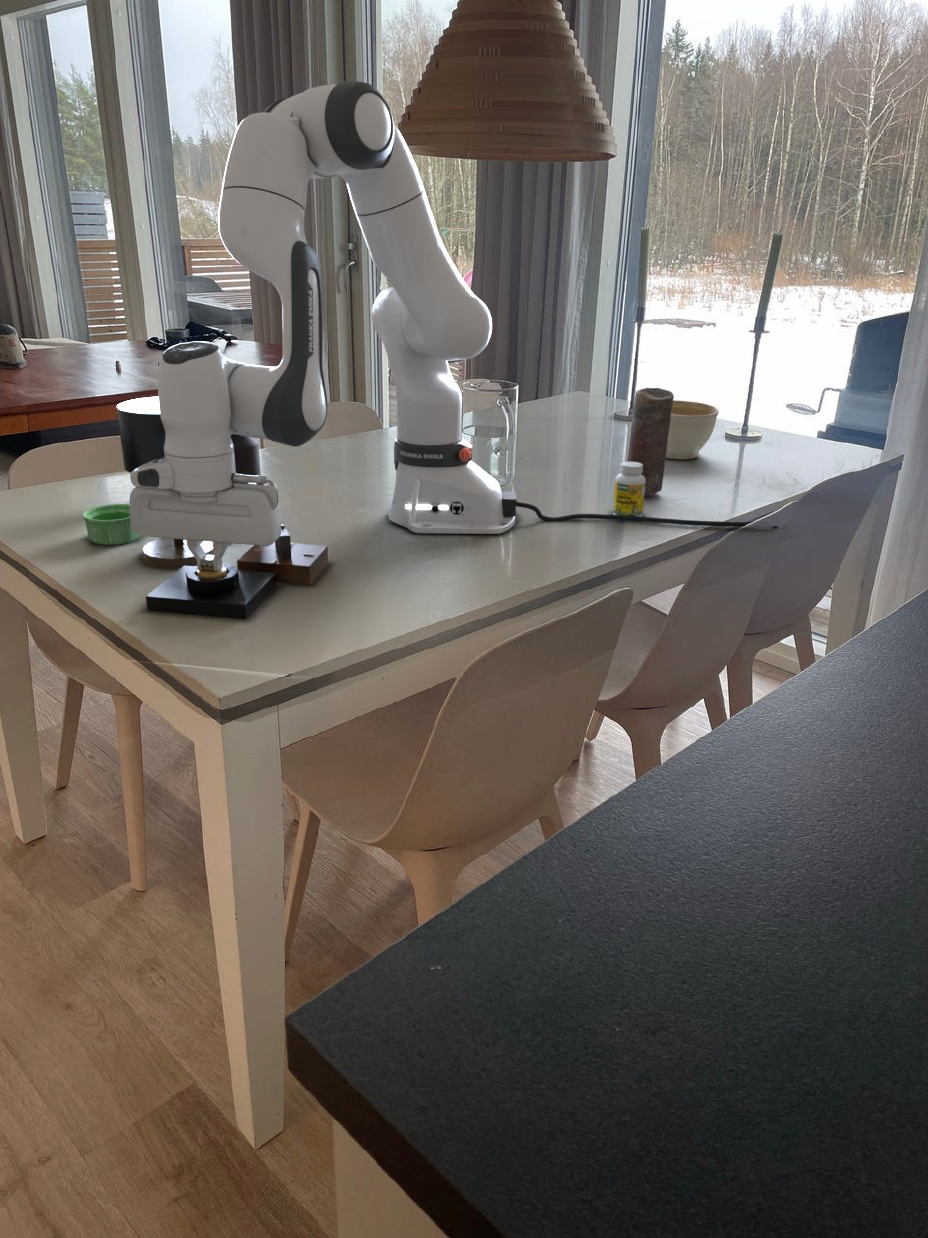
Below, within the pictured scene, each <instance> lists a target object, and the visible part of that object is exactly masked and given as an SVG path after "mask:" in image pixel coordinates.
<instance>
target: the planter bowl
mask: <svg viewBox="0 0 928 1238" xmlns="http://www.w3.org/2000/svg"><path fill="white" fill-rule="evenodd" d="M719 412H720V410H719V408H718V407H716V406H713V405H711V404H707V403H704V402H697V401H689V400H674V399H673V406H672V413H671V421H670V428H669V435H668V444H667V452H666V459H670V460H671V459H672V460H687V461H688V460H692V459H695V458H698V455H699V452H700V450H702V449H703V447H705V446H706V444H707V442H708V441H709V439H710V438H711V437H712V434H713V432H714V429H715V426H716V422H717V419H718V415H719Z"/></svg>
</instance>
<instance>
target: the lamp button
mask: <svg viewBox="0 0 928 1238" xmlns="http://www.w3.org/2000/svg"><path fill="white" fill-rule="evenodd" d="M226 574H227V569H226V567H224V566H223V567H222V569H221V570H220V571H219V572H214V571H203V570H202V571H201V570H197V576H198V577H200V578H217V577H222V576H225V575H226Z"/></svg>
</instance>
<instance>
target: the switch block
mask: <svg viewBox="0 0 928 1238" xmlns="http://www.w3.org/2000/svg"><path fill="white" fill-rule="evenodd" d="M222 565H223V566H224V567H226V569H227V574H226V575H225V576H222V577H217V578H200V577H198V576H197V570H198V567H197V566H183V567H182V568H178V570H177V571H175V572H174V573H173V574H172V575H170V576H169V577H168V578H167V579H166V580H164V581H163V582H162V583H161V584H159V585H158V586H156V588H154V589H153V590H152V591H150V592H149V593H148V594H146V596H145V601H146V609H147V612H153V613H164V614H165V613H166V614H175V615H178V614H179V615H188V616H189V615H190V616H200V617H211V618H224V619H235V620H244V621H246V620H248V618H249V617H250V616H251V615H252V614H254V612H255V611H256V610H257V609H258V608H259V607H260V606H261V605H262V604H263V603H264V601H265V600H266V599H267V598H269V596H270V595H271V594H272V593H273V592H274V591H275V590H276V589H277V588H278V583H277V578H276V573H271V572H259V571H246V570H238V568H237V566H235V565H231V564H230V563H222Z"/></svg>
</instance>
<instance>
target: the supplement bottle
mask: <svg viewBox="0 0 928 1238" xmlns="http://www.w3.org/2000/svg"><path fill="white" fill-rule="evenodd" d="M642 471H643V464H641V463H638V462H627V461H623V462H620V465H619V472H620V473H619V474H617V475H616V476H615V479H614V491H613V492H614V493H613V503H612V506H613V507H612V515H625V516H639V517H643V512H644V503H645V496H644V493H645V482H646V480H645V477H644V476H643V475H641V473H642Z"/></svg>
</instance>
